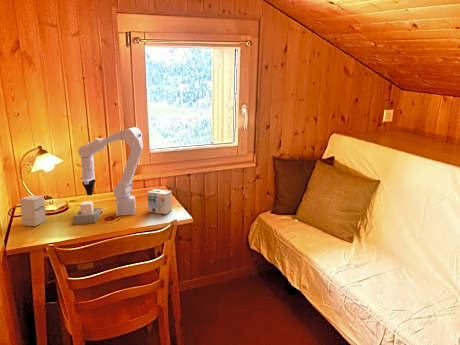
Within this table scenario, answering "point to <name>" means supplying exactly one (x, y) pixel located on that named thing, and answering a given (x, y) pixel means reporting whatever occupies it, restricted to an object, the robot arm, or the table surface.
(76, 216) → the tray
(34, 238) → the table surface
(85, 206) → the block
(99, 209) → the stand
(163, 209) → the light bulb box
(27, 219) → the supplement box
